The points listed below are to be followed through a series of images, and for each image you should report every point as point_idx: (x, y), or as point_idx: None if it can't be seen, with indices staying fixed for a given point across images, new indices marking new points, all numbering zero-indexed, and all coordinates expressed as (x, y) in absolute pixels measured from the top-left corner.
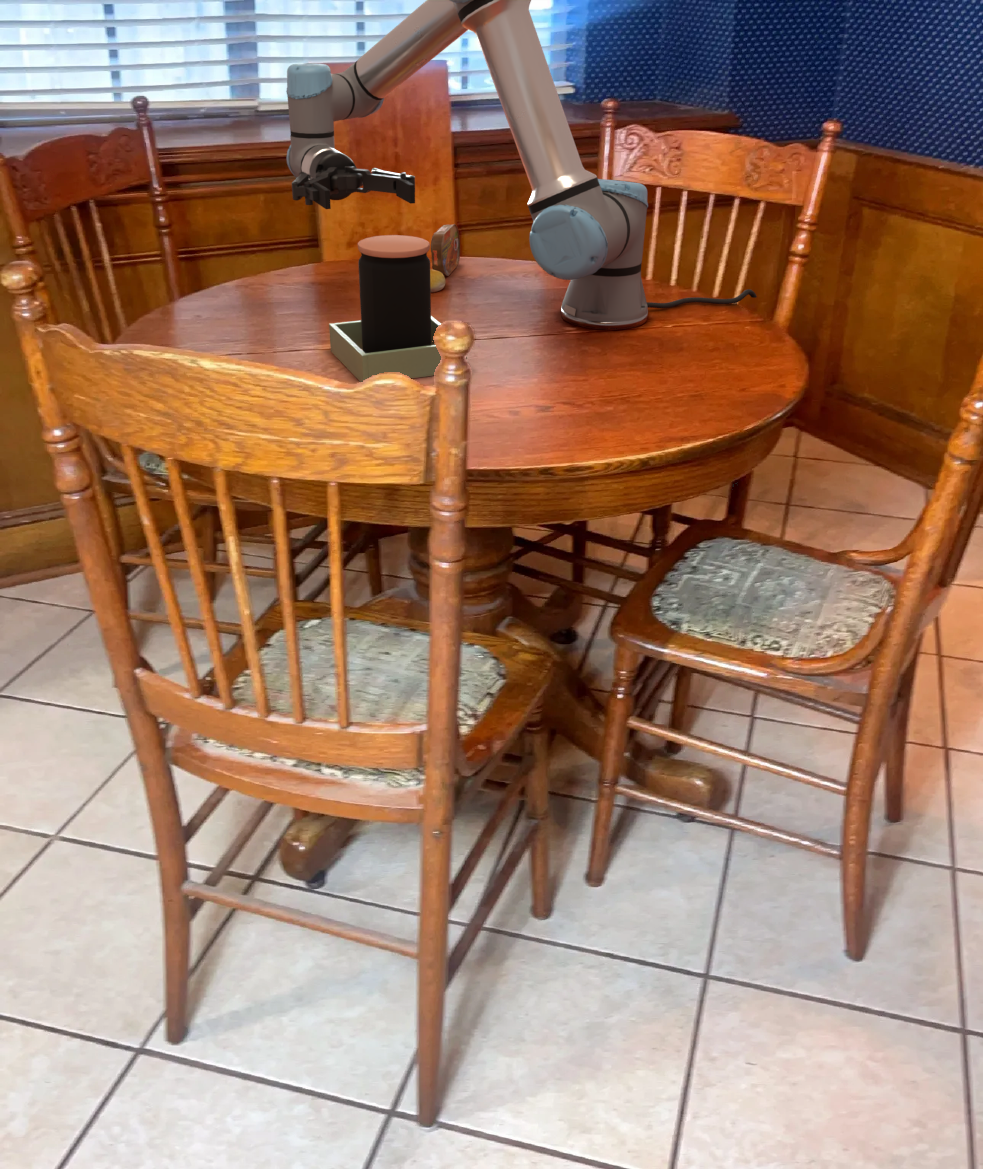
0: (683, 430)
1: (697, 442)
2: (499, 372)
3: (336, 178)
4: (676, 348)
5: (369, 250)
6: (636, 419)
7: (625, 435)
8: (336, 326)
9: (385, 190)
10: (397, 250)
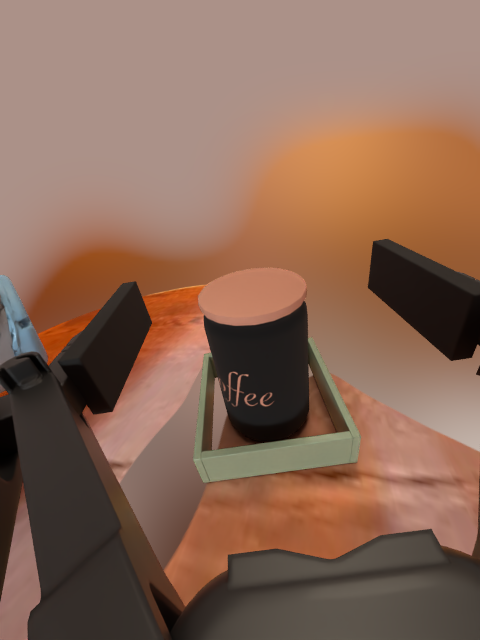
0: (150, 300)
1: (155, 293)
2: (184, 369)
3: (443, 549)
4: None
5: (292, 272)
6: (159, 308)
7: (179, 298)
8: (346, 421)
9: (107, 464)
10: (256, 269)
